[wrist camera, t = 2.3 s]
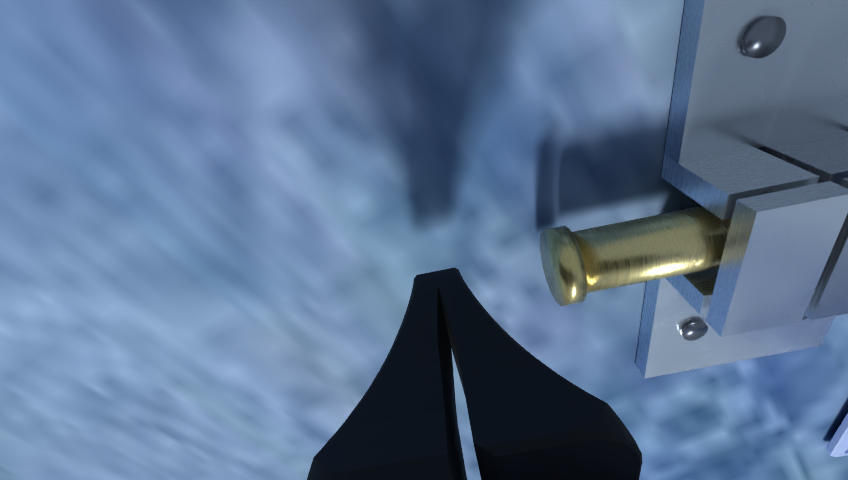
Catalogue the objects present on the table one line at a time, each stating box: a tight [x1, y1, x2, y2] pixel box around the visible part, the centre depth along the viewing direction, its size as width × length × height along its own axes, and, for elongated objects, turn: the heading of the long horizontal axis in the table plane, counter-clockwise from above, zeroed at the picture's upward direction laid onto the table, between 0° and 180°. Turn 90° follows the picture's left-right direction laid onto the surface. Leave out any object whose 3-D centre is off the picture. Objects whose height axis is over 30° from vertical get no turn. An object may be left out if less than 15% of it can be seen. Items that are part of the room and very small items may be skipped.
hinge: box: [635, 0, 848, 378], centre depth 13 cm, size 8×16×4 cm, turn 11°
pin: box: [540, 206, 732, 306], centre depth 13 cm, size 9×2×2 cm, turn 101°
